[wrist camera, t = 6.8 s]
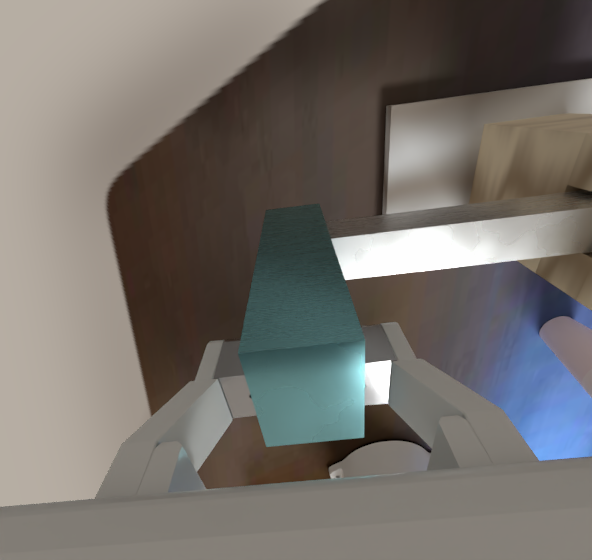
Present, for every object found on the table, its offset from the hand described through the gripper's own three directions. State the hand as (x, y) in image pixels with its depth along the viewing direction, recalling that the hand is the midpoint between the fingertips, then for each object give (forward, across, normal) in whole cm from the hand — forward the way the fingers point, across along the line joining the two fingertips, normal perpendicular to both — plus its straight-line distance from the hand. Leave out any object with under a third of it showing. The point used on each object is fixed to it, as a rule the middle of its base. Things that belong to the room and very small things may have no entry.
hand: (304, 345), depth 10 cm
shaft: (+9, +12, 0) cm, 15 cm away
